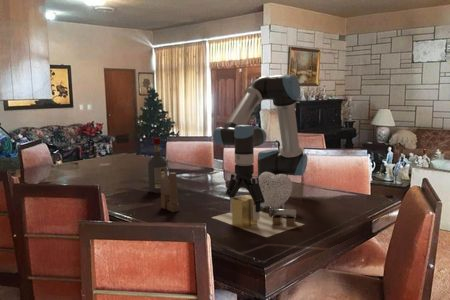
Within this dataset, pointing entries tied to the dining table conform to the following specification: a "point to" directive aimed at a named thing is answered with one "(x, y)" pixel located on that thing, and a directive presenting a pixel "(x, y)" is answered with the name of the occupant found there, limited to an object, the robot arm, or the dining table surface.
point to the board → (261, 224)
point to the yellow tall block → (243, 212)
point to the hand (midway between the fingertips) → (244, 216)
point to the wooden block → (169, 193)
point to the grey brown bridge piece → (281, 213)
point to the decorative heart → (275, 189)
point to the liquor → (156, 168)
